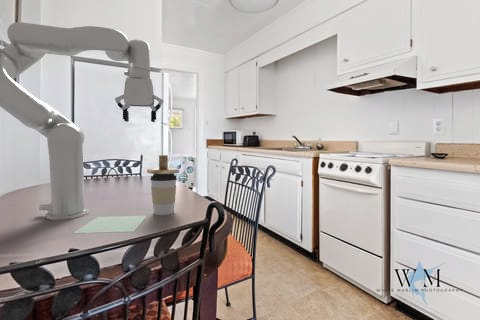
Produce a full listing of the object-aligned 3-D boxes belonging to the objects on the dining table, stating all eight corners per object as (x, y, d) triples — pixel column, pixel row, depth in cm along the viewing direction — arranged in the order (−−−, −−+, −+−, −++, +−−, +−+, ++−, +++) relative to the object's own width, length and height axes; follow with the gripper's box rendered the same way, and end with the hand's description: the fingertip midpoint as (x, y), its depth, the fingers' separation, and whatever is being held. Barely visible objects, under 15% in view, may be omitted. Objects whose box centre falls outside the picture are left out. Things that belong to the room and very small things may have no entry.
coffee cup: (169, 217, 88) (169, 173, 87) (145, 216, 90) (145, 173, 89) (180, 211, 97) (180, 171, 96) (158, 209, 98) (158, 170, 98)
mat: (72, 234, 71) (72, 233, 71) (97, 217, 87) (97, 216, 87) (133, 232, 73) (133, 231, 73) (146, 216, 89) (146, 215, 89)
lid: (143, 174, 86) (143, 156, 86) (150, 170, 97) (150, 154, 96) (177, 173, 87) (177, 156, 87) (180, 170, 98) (180, 154, 98)
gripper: (111, 71, 92) (112, 120, 93) (161, 74, 94) (161, 121, 95) (118, 77, 99) (119, 121, 100) (164, 79, 102) (164, 123, 103)
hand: (139, 121), depth 98 cm, fingers open, 9 cm apart
